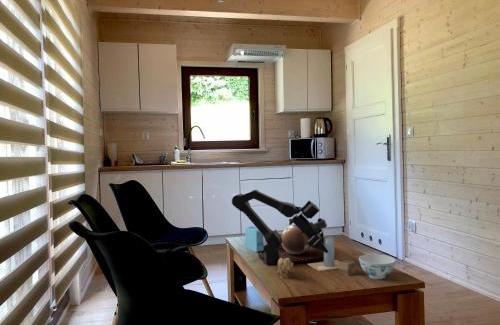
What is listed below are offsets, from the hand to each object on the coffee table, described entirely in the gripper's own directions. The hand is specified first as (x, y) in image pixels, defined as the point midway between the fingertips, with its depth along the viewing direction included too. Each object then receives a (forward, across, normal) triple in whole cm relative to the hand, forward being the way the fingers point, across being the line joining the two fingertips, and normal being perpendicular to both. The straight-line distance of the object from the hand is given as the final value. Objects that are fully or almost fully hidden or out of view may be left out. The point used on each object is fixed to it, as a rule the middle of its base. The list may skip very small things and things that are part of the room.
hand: (328, 249), depth 195 cm
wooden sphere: (-7, +19, +18) cm, 27 cm away
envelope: (+6, +1, +6) cm, 8 cm away
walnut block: (+12, -9, -1) cm, 15 cm away
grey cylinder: (+6, 0, +5) cm, 7 cm away
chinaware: (+20, -12, -10) cm, 25 cm away
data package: (-23, +24, +35) cm, 48 cm away
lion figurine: (-7, -17, +19) cm, 26 cm away
